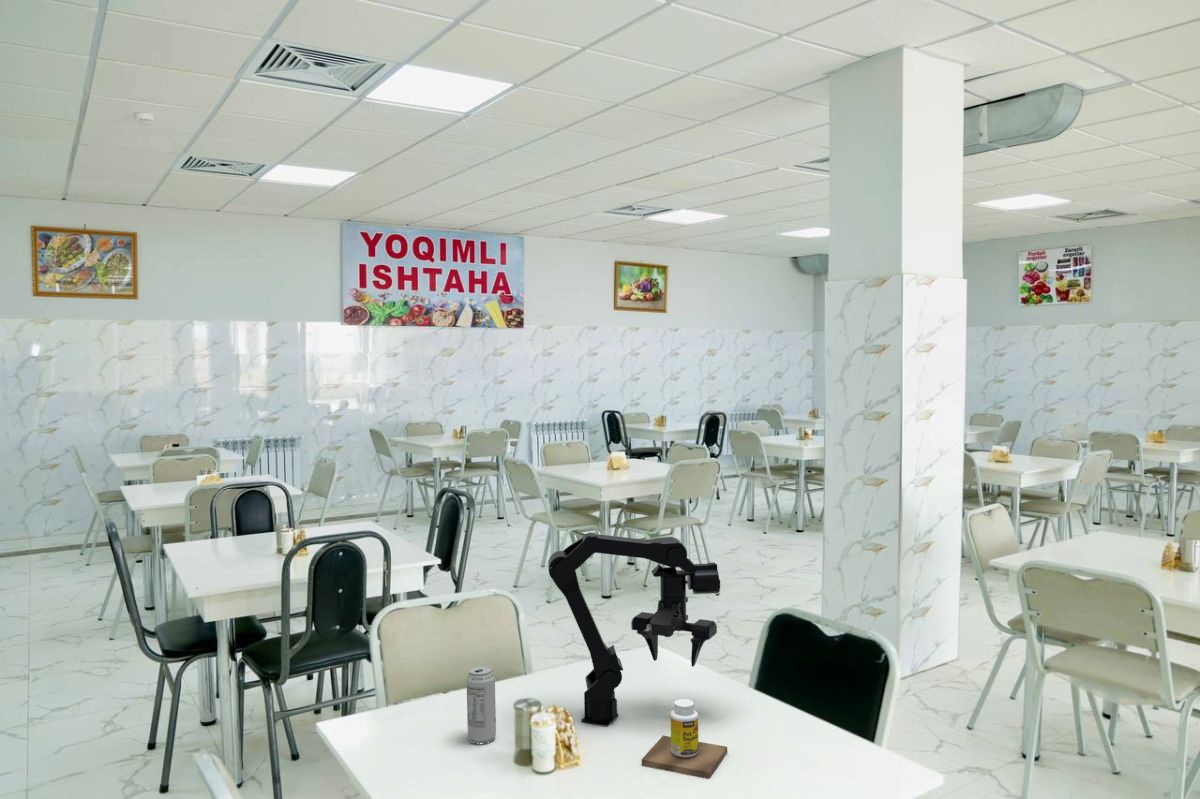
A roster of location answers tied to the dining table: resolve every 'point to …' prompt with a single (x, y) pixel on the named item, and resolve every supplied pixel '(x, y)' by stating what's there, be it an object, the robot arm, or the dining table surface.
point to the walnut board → (696, 765)
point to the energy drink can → (481, 704)
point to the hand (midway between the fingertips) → (674, 663)
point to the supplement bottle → (684, 729)
